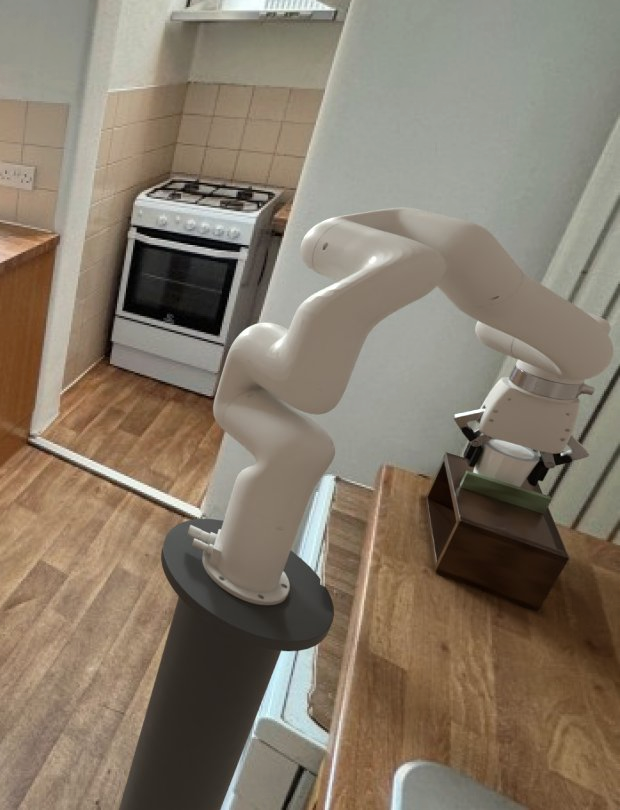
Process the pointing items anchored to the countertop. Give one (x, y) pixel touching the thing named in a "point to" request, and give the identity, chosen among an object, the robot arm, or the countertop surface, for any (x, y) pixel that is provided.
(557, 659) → the countertop surface
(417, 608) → the countertop surface
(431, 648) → the countertop surface
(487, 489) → the tray
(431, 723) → the countertop surface
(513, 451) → the white cylinder
